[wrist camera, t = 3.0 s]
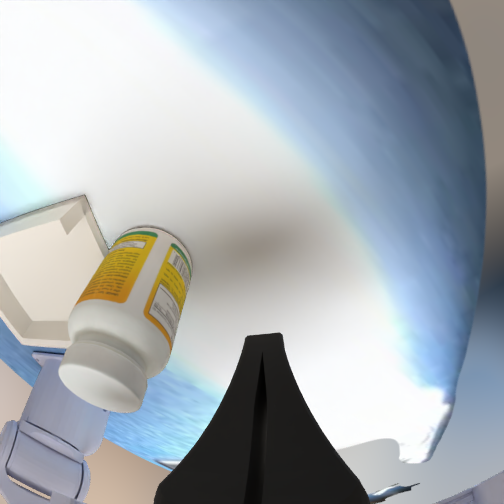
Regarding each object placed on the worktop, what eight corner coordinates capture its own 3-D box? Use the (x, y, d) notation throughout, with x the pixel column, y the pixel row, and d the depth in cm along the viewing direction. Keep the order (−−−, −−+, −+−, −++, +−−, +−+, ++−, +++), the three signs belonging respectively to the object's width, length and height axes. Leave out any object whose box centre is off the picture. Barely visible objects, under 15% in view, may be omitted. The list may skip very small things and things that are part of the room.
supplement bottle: (208, 252, 18) (178, 398, 10) (172, 303, 21) (138, 429, 13) (130, 207, 16) (47, 335, 9) (104, 267, 19) (44, 384, 11)
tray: (144, 320, 22) (134, 350, 19) (35, 322, 23) (22, 344, 21) (84, 194, 16) (59, 219, 13) (-21, 231, 17) (-41, 251, 15)
